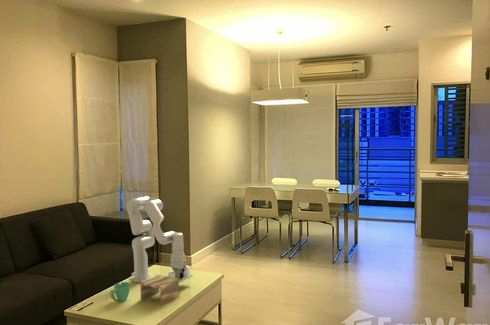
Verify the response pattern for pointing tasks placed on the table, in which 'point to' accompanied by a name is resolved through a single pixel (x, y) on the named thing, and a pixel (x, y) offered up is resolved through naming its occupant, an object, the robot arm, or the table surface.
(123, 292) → the mug
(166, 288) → the wooden bridge
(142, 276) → the robot arm
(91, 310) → the table surface
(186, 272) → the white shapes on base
